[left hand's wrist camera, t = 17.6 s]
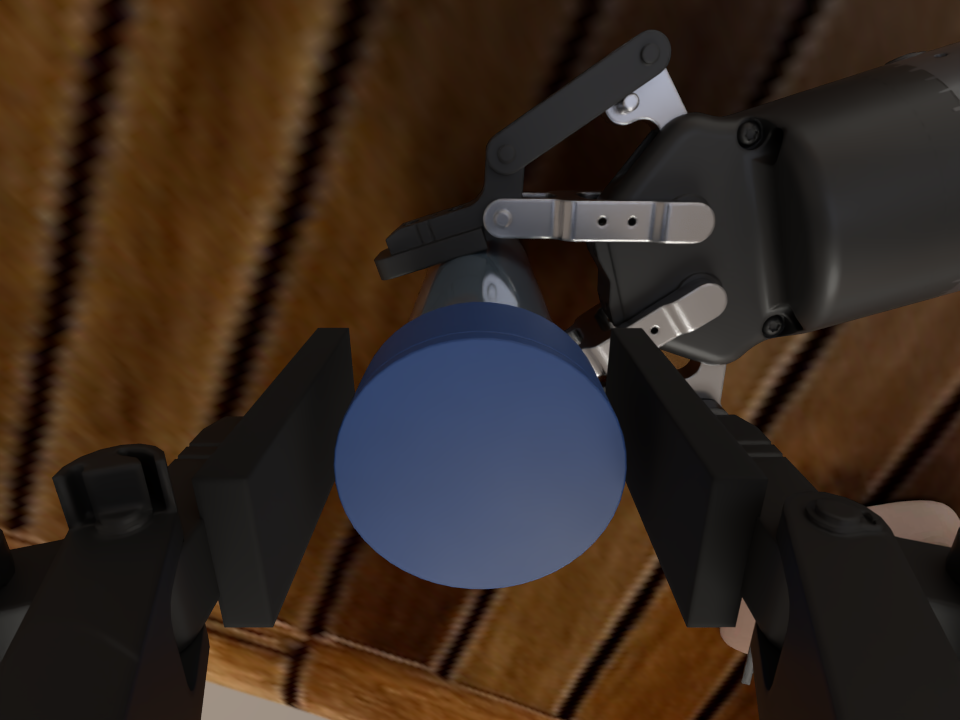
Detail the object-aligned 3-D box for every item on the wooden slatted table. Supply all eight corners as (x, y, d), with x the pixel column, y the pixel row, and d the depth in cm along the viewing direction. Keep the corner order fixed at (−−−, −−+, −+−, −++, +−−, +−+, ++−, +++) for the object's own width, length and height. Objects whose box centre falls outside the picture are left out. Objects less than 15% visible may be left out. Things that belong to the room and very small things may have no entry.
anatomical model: (743, 733, 31) (761, 567, 26) (715, 669, 34) (726, 514, 30) (994, 716, 30) (1052, 544, 26) (938, 653, 34) (981, 493, 30)
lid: (306, 386, 12) (271, 438, 10) (519, 249, 11) (529, 276, 9) (448, 554, 14) (442, 628, 12) (645, 449, 12) (677, 511, 10)
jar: (547, 253, 25) (642, 420, 10) (497, 334, 27) (517, 581, 12) (461, 202, 24) (433, 306, 10) (414, 288, 26) (327, 492, 11)
